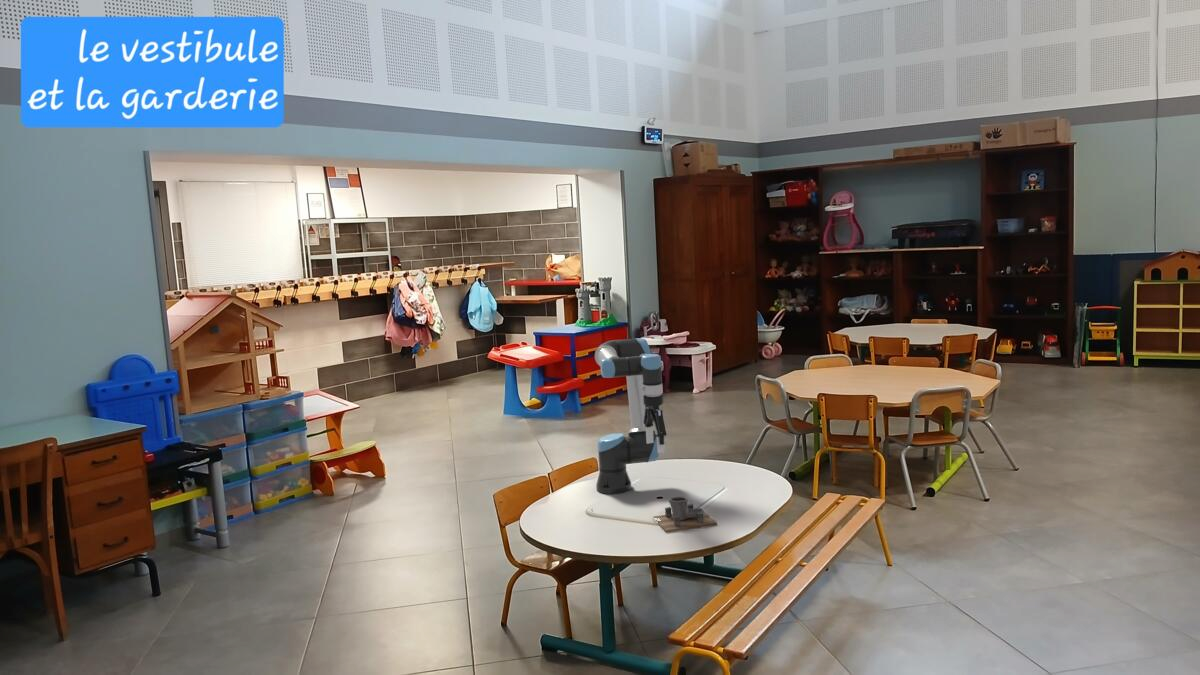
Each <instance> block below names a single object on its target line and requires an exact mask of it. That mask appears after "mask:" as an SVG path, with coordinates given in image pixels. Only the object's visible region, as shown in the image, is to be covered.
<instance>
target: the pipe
mask: <svg viewBox="0 0 1200 675" xmlns="http://www.w3.org/2000/svg"><path fill="white" fill-rule="evenodd" d="M668 502H669V505H670V508H671V513H672V515H673V518H674V516H680V520H684V519H695V518H697V513H700V512H702V513H703V511H704V510H703V508H702V507H699V508H698V507H696V508H695V507H694V509H688V508H687V505H688V502H689V501H688V498H687V497H683V496H674V497H670V498H668Z"/></svg>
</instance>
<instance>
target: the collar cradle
mask: <svg viewBox="0 0 1200 675" xmlns="http://www.w3.org/2000/svg"><path fill="white" fill-rule="evenodd" d="M694 506H695V505H694V504H693V503H689V504H688V503H687V508H688V509H694V508H695V507H694ZM664 513H665V514H662V515H661V514H660V515H655V516H652V518H653V517H654V518H657V519H658V518H659V519H660V520H661V521H657V520H656V521H657V522H658V524H659V525H658V524H657V525H658V526H659V527H660V528H661V529H662V530H663V531H664V532H665V533H674V532H681V531H685V530H686V531H687V530H693V529H700V528H706V527H712V526H718V522H717V521H716V520H714V518H713V517H711V516H710V515H709V514H708V513H706V511H704V510H703V513H702V512H700V513H697V518H695V519H684V520H680V516H674V518H673V515H672V509H671V506H668V507H664Z"/></svg>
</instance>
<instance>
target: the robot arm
mask: <svg viewBox="0 0 1200 675" xmlns="http://www.w3.org/2000/svg"><path fill="white" fill-rule="evenodd" d="M661 358H662V357H661V355H659V354H657V353H651V349H650V344H649V343H648V341H647V340H646V339H645V338H641V337H640V338H639V337H638V338H625V339H613V340H608V341H606V342H603V343H601V344H600V345H599V346H598V347H597V348H596V349H595V351H594V360H595V362H596V364H597V365H598V366H599V367H600V373H601V377H602V378H603V379H604V378H605V379H606V378H609V379H611V378H620V377H625V378H626V388H627V396H628V397H627V398H628V406H629V408H628V410H629V417H630V418H629V419H630V429H629V431H628V432H627V433H628V436H625V434H624V433H622V432H621V433H610V434H607V435H603V436H602V437H600V438H599V439H598V441H597V453H598V469H599V470H598V471H599V473H598V477H597V479H596V480H597V481H596V484H595V485H596V491H597V492H599V493H602V494H609V495H610V494H612V495H613V494H620V493H621V494H622V493H626V492H628V491H630V490H631V489H632V482H631V479H630V476H629V474H628V471H627V465H630V464H632V465H633V464H640V463H641V464H643V463H650V462H651V463H652V462H656V461H657V460H658V458H659V456H660V454H661V453H665V452H666V446H665V444H666V443H665V436H667V430H666V425H665V420H664V414H663V412H664V411H663V409H660V406H662V405H663V404H664V397H663V393H664V391H663V376H662V375H663V374H662V371H663V370H662V365H663V363H662V359H661ZM654 425H655V428H654Z"/></svg>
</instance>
